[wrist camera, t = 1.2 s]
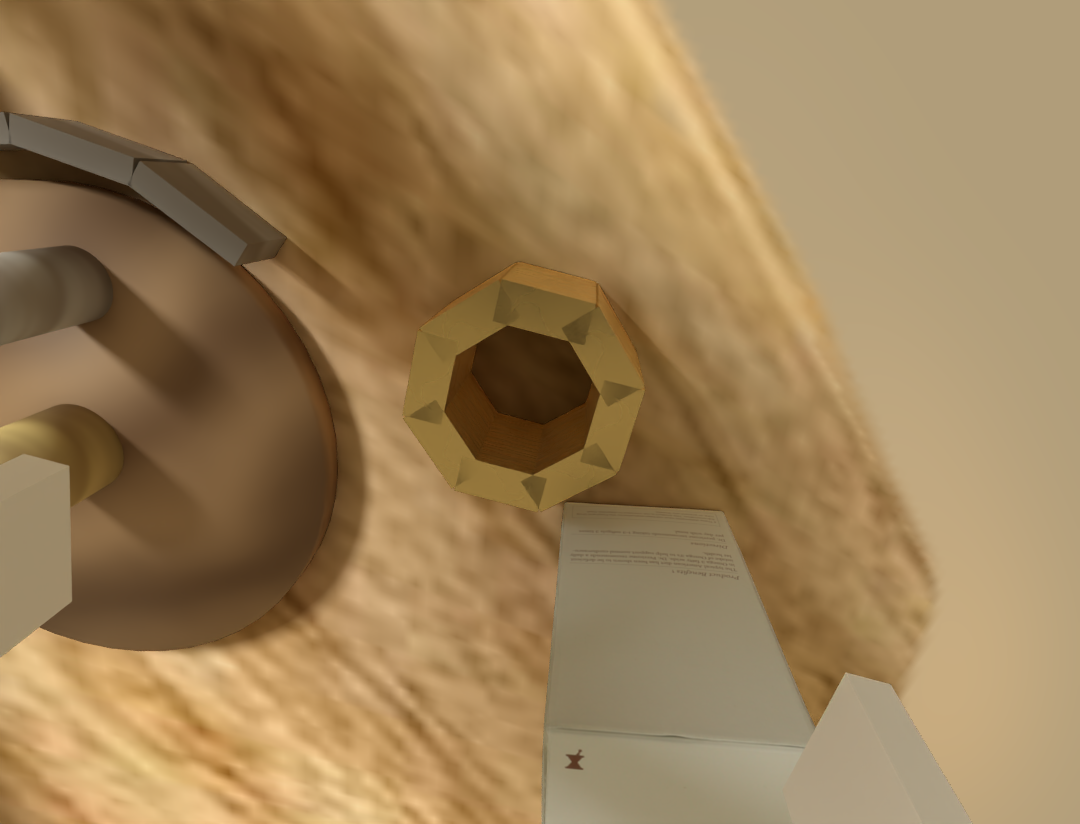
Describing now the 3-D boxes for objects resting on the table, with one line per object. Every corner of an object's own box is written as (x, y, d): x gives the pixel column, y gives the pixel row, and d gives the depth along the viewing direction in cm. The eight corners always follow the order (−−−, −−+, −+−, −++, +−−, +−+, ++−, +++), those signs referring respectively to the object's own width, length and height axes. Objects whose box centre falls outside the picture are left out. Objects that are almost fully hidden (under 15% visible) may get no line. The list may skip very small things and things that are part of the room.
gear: (405, 330, 26) (363, 361, 21) (568, 230, 24) (561, 240, 19) (505, 479, 28) (486, 538, 23) (662, 398, 26) (677, 444, 21)
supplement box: (555, 632, 31) (530, 915, 19) (563, 496, 28) (540, 723, 16) (709, 645, 30) (783, 944, 18) (731, 508, 28) (834, 752, 16)
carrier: (-250, 321, 28) (-490, 359, 22) (115, -10, 23) (-70, -86, 16) (105, 688, 34) (-5, 801, 28) (468, 500, 28) (432, 590, 22)
